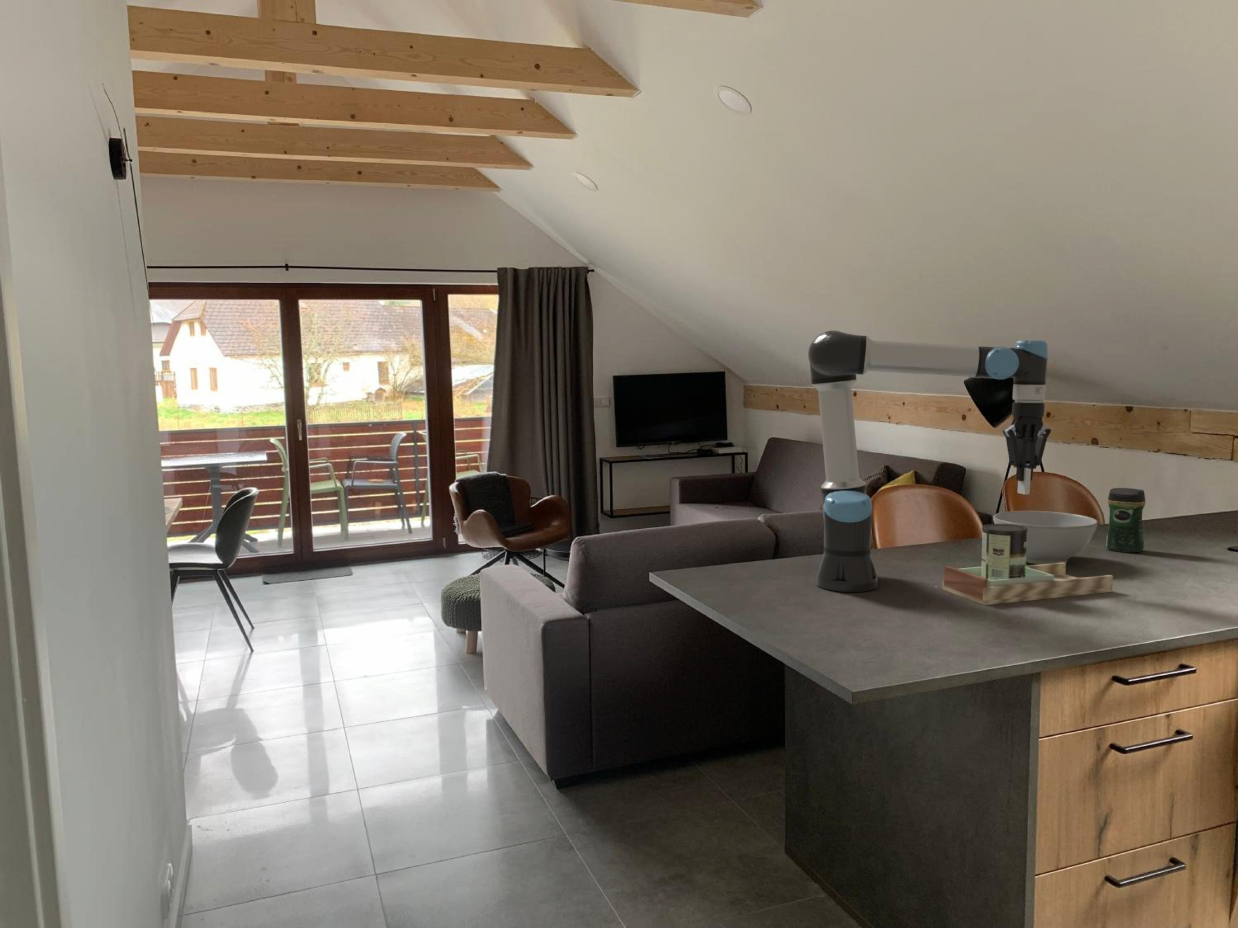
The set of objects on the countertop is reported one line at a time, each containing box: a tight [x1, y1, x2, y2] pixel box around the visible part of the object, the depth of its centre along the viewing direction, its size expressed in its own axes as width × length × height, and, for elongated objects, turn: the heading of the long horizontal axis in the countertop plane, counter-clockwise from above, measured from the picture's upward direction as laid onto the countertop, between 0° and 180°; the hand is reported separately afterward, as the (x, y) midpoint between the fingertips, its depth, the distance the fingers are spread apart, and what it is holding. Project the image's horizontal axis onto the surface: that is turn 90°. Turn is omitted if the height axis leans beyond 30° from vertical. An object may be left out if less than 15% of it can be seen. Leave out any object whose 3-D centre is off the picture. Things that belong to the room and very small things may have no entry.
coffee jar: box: [1105, 487, 1147, 553], centre depth 273 cm, size 10×8×19 cm
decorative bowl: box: [992, 510, 1099, 565], centre depth 261 cm, size 27×27×12 cm
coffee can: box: [980, 523, 1028, 580], centre depth 226 cm, size 10×10×14 cm
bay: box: [941, 562, 1114, 606], centre depth 228 cm, size 37×16×6 cm, turn 107°
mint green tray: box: [959, 566, 1054, 587], centre depth 226 cm, size 18×14×4 cm
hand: (1023, 493), depth 238 cm, fingers closed
